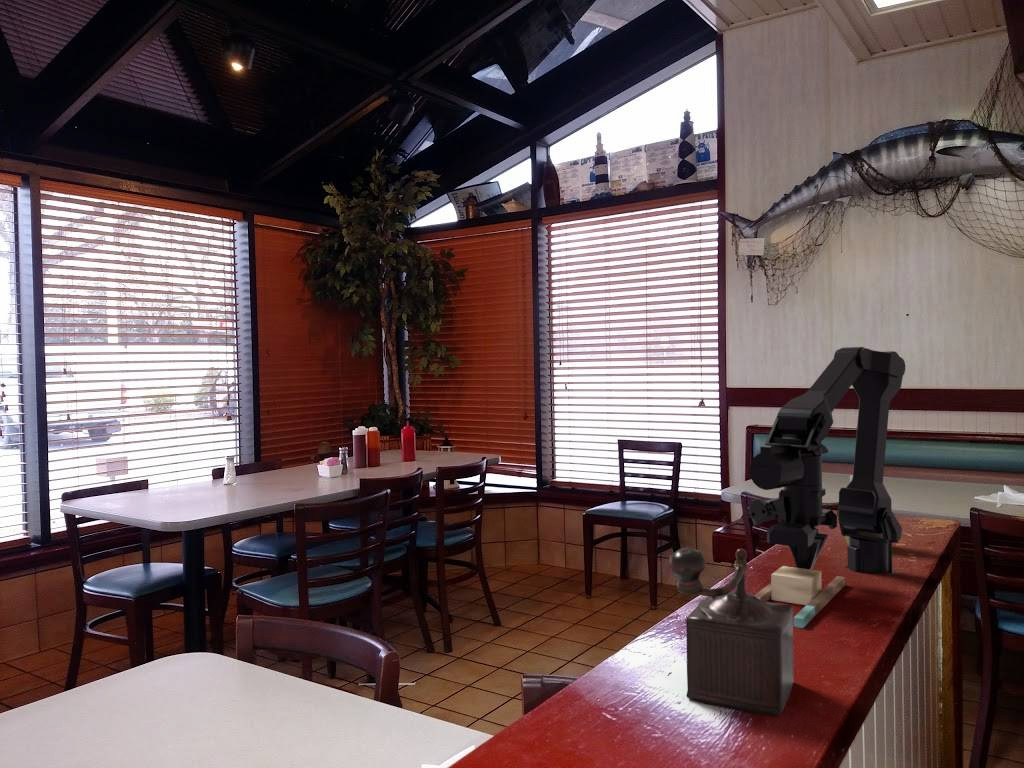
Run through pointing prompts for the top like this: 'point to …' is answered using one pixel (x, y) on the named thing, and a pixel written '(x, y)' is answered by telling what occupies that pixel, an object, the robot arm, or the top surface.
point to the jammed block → (795, 585)
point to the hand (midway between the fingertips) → (803, 579)
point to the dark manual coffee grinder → (735, 641)
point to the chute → (814, 604)
